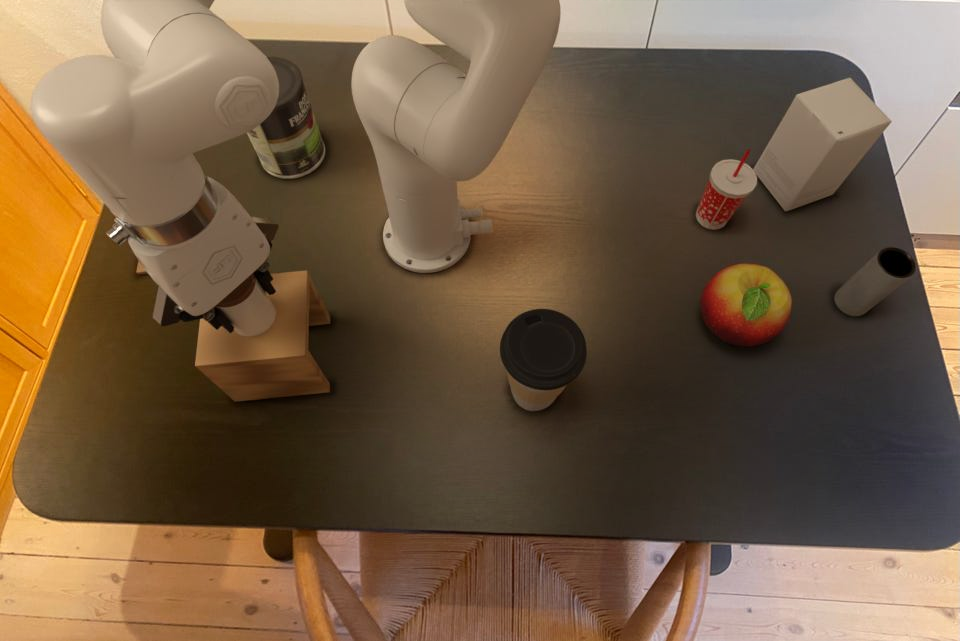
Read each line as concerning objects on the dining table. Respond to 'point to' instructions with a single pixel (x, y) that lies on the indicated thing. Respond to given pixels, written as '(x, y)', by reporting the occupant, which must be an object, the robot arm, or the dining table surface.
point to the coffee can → (289, 128)
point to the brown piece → (269, 347)
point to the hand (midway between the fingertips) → (244, 304)
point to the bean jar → (248, 308)
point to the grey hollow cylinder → (875, 281)
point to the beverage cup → (725, 192)
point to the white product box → (819, 143)
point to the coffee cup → (541, 356)
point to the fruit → (746, 304)
